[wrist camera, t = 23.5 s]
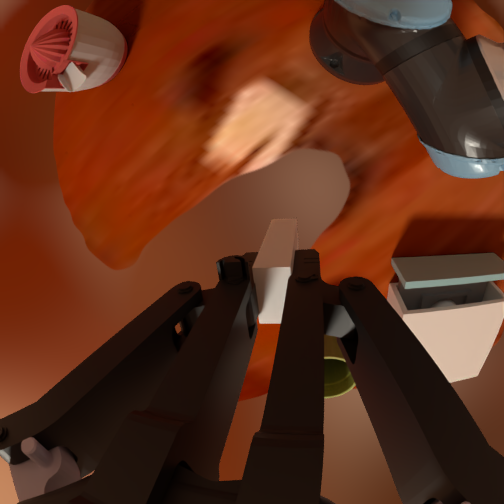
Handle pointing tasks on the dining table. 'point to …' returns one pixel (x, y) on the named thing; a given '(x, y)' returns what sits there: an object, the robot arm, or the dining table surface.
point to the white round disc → (443, 303)
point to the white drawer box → (455, 331)
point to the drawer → (446, 278)
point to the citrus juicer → (71, 52)
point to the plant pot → (335, 370)
